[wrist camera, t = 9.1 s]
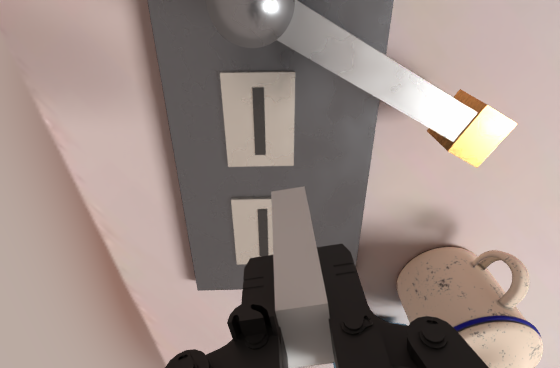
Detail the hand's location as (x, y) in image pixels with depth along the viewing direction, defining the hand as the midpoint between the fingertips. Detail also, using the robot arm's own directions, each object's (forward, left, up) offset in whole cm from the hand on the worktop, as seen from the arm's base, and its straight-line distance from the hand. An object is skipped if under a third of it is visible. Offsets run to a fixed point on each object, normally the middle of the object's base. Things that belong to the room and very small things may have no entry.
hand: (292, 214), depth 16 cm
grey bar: (-5, +4, -11) cm, 13 cm away
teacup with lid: (+16, +16, -12) cm, 26 cm away
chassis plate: (+3, -1, -12) cm, 12 cm away
